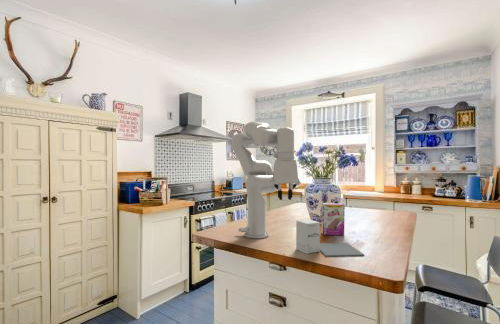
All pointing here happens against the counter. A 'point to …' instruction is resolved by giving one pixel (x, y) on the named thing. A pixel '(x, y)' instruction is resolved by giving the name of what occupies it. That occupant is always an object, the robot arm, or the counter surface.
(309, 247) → the supplement box
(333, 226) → the candy bar box
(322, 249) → the mat
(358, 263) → the counter surface
